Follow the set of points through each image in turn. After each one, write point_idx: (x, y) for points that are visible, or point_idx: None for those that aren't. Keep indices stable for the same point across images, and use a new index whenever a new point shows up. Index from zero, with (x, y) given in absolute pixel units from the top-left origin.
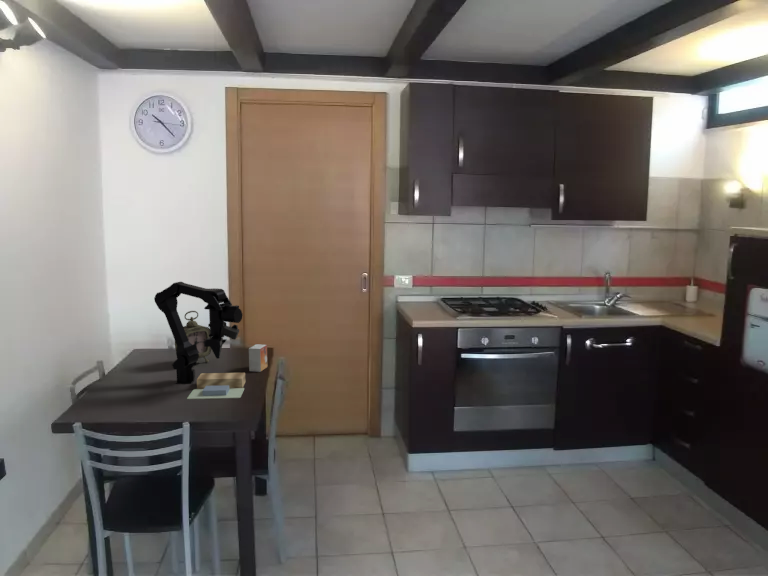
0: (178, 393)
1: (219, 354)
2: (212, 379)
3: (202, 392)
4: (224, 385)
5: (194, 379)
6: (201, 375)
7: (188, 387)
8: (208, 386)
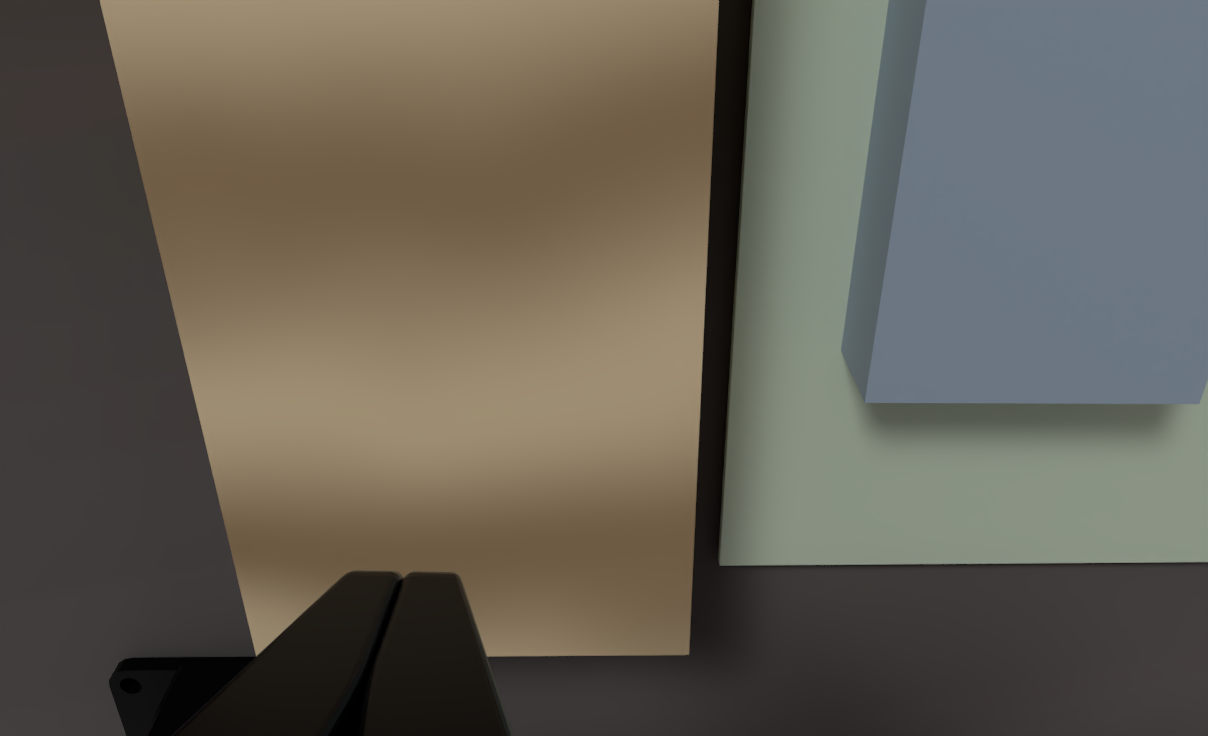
0: (863, 711)
1: (507, 726)
2: (700, 351)
3: None
4: None
5: (247, 663)
6: None
7: None
8: (930, 347)
